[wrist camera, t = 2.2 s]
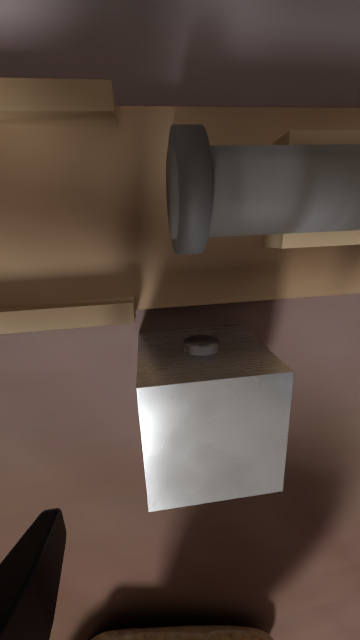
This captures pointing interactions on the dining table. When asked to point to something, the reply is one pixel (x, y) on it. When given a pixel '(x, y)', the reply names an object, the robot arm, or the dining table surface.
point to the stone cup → (186, 633)
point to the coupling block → (211, 415)
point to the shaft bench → (126, 219)
